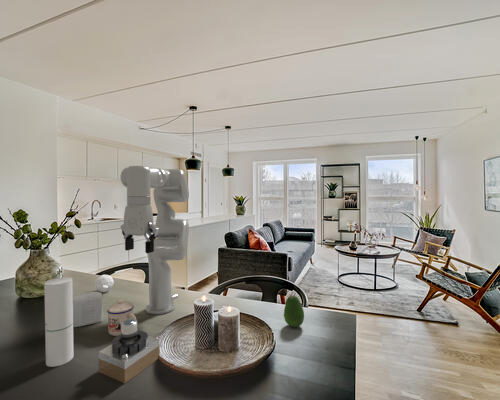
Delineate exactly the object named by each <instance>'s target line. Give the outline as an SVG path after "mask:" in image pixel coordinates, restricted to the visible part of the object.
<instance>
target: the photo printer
mask: <svg viewBox="0 0 500 400" xmlns="http://www.w3.org/2000/svg"><path fill="white" fill-rule="evenodd" d="M103 301H104V298H103V294H102V292H100V291H89V292H84V293H80V294H77V295H75V296H74V298H73V328H77V327H82V326H87V325H92V324H97V323H101V322H102V321H103V319H104V311H103V310H104V308H103V307H104V302H103Z"/></svg>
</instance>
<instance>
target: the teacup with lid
mask: <svg viewBox="0 0 500 400" xmlns="http://www.w3.org/2000/svg"><path fill="white" fill-rule="evenodd" d="M134 307H135V306H134V304H133V303H132V302H129V301H124V299H122V298H120V299H118V300H117V302H116V303H114V304H110V306H109V307H107V310H106V312H107V315H108V316H107V331H108V332H107V333H108V334H109V335H110V336H115V337H116V336H118V335H120V334H121V332H122V328H121V324H122V322H124V321H125V320H129V319H136V320H137V317H136V315H135V314H134Z"/></svg>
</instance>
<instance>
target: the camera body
mask: <svg viewBox="0 0 500 400" xmlns="http://www.w3.org/2000/svg"><path fill="white" fill-rule="evenodd" d="M160 342H161V341H160V338H157V337H155V336H150V335H148V333H147V332H146V331H144V330H140V329H138V341H137V342H135V343H132V344H122V338H121V334H120V335H118V336H115V337H114V338H113V339H112V340H111V344H110V345H108V346H107V347H104V348H102V349H101V350H99V351H98V373H101V374H103V375H104V376H106V377H109V378H112V379H114V380H116V381H118V382H121V383H123V384H126V383H128V382H129V381H130V380H131V379H133V378H135V377H136V376H137V375H139V374H140V373H141V372H143V371H144V370H146V368H148V367H150V366H151V365H152V364H154V363H155V362H156V361H157V360H158V356H159V355H160V353H161V352H160V350H161V349H160V346H161V345H160ZM160 356H161V355H160Z"/></svg>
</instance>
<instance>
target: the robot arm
mask: <svg viewBox="0 0 500 400" xmlns="http://www.w3.org/2000/svg"><path fill="white" fill-rule="evenodd" d="M186 177H187V176H186V174H185V172H184V171H183V170H182V169H179V168H176V169H175V168H171V169H170V168H159V167H148V166H146V165H145V166H144V165H129V166H127V167H125V168H123V169H122V171H121V173H120V181H121V183H122V185H123V186H124V187H125V188H126V205H125V208H124V215H123V224H122V225H120V230H121V234H122V235H123V240H124V248H125V249H124V251H131V250H134V248H135V244H134V243H135V241H134V240H135V239H134V236H136V237H137V236H138V237H140V236H143V237H144V238H145V240H146V241H145V242H144V245H145V246H144V247H145V249H144V251H145V253H146V255H147V262H148V282H149V283H148V295H149V296H148V301H149V303H148V304H147V305H146V306H145V312H146V313H147V314H149V315H163V314H167V313H170V312H172V311H173V310H174V309H175V307H176V304H175V302H173V301H174V300H176V299H177V298H178V297H179V295H178V294H177V293H175V294H173V295H172V267H171V265H170V264H169V263H168V261H182V260H184V259H185V258H186V257H187V253H188V246H189V245H188V244H189V235H190V225H189V222H188V221H187V220H186V219H183V218H181V219H180V218H176V211H175V210H174V208H173V207H172V206H171V205H170V204H169V203H186V202H187V201H188V200H189V198H190V191H189V185H188V180H187V178H186ZM151 189H153V194H152V195H153V200H154V201H153V202H154V205H155V208H156V211H157V214H156V219H155V223H154V216H153V215H154V214H153V207H152V206H151V203H152V202H151Z"/></svg>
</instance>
